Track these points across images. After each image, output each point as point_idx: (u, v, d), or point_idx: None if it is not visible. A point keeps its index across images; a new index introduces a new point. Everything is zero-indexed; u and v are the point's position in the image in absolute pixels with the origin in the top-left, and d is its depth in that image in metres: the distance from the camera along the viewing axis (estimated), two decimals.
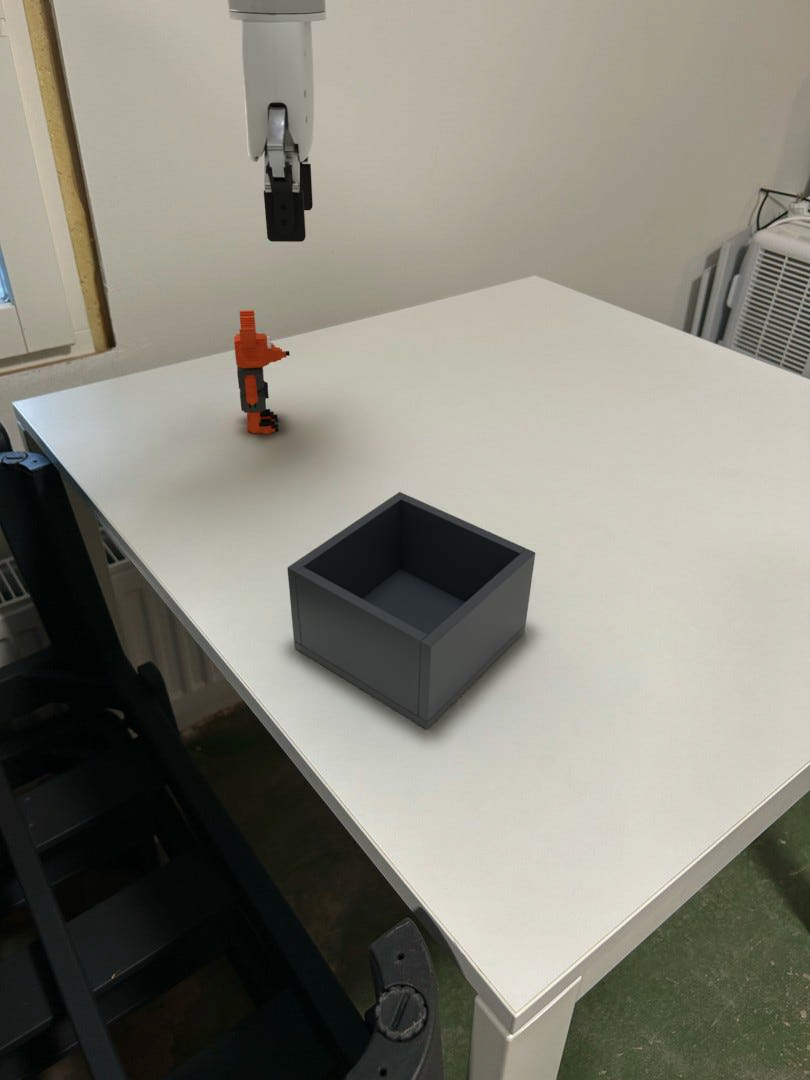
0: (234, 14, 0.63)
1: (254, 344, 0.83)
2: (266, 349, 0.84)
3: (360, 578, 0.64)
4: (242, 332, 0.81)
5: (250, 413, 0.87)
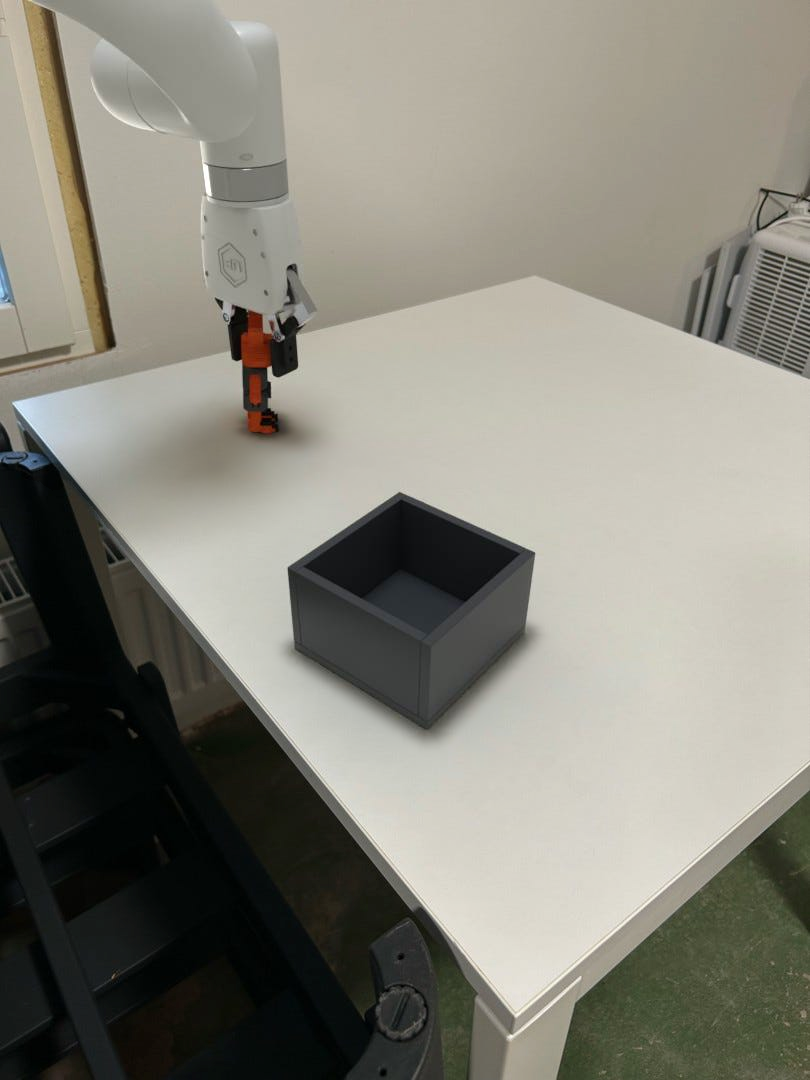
0: (238, 203, 0.73)
1: (261, 344, 0.83)
2: None
3: (360, 578, 0.64)
4: (251, 332, 0.81)
5: (252, 412, 0.87)
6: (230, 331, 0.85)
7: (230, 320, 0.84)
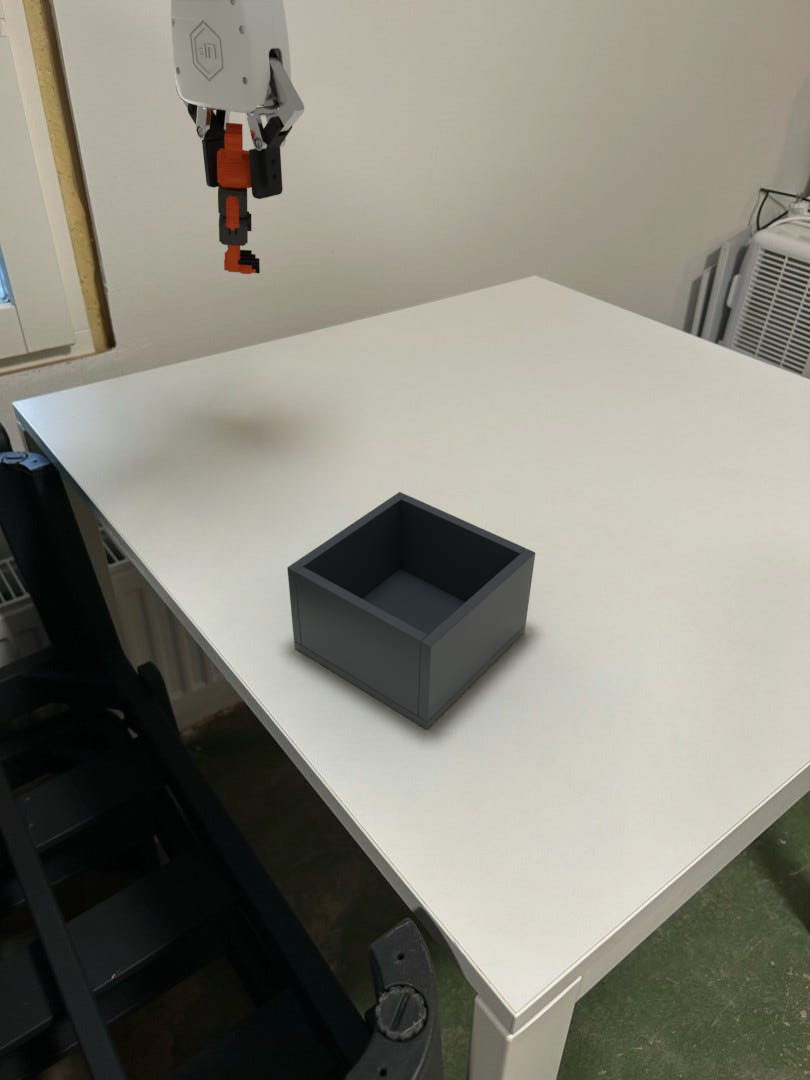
0: None
1: (240, 158, 0.72)
2: None
3: (360, 578, 0.64)
4: (227, 137, 0.70)
5: (229, 246, 0.76)
6: (205, 147, 0.74)
7: (205, 134, 0.74)
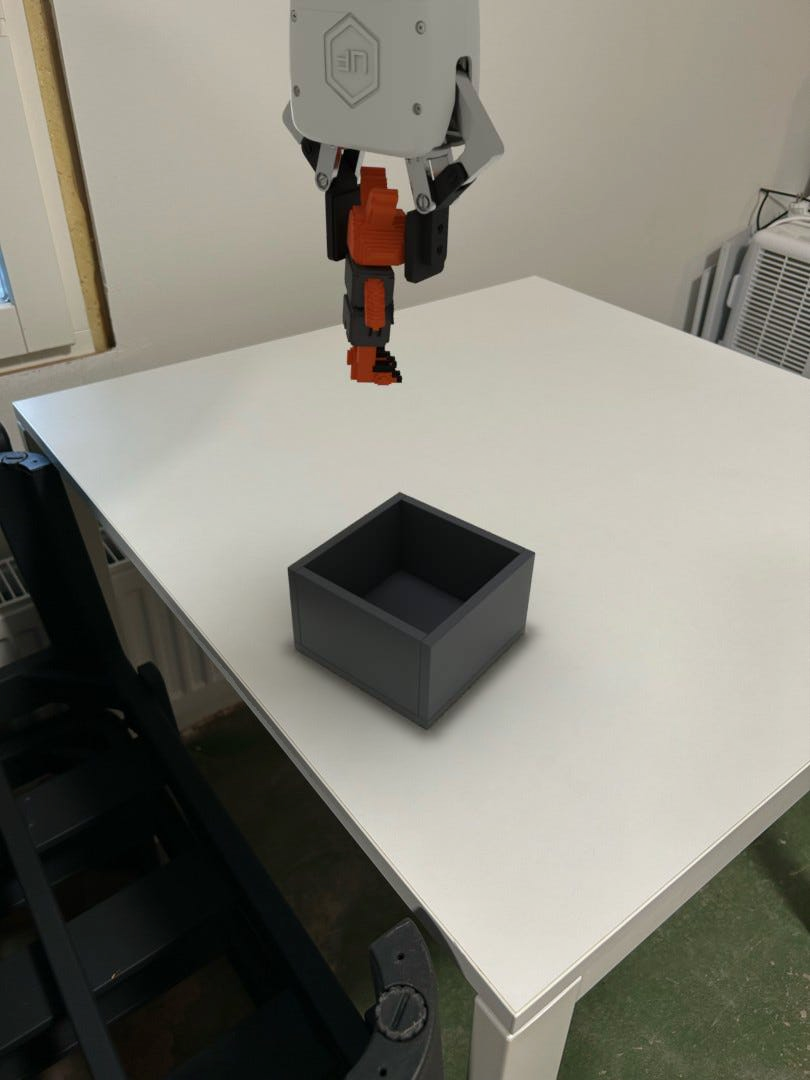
0: None
1: (389, 222, 0.47)
2: None
3: (360, 578, 0.64)
4: (377, 194, 0.45)
5: (362, 348, 0.51)
6: (329, 205, 0.49)
7: (330, 185, 0.49)
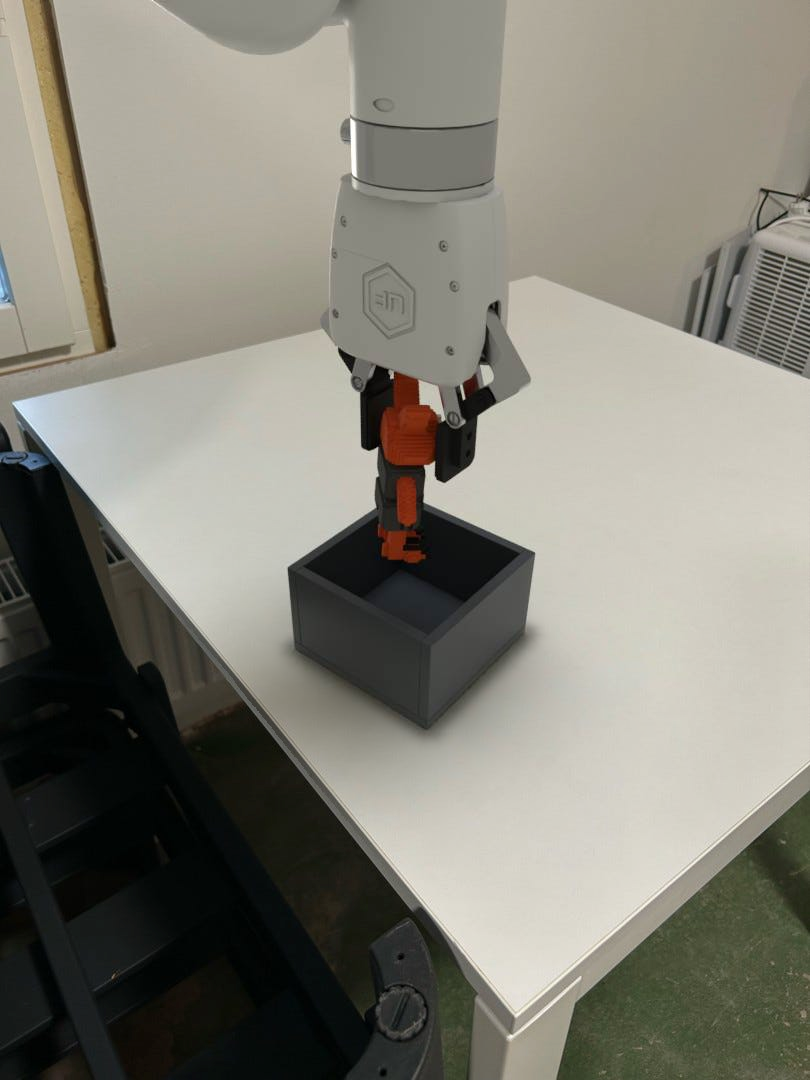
0: (418, 194, 0.40)
1: (421, 429, 0.50)
2: None
3: (360, 578, 0.64)
4: (410, 412, 0.48)
5: (393, 531, 0.54)
6: (364, 405, 0.52)
7: (365, 388, 0.52)
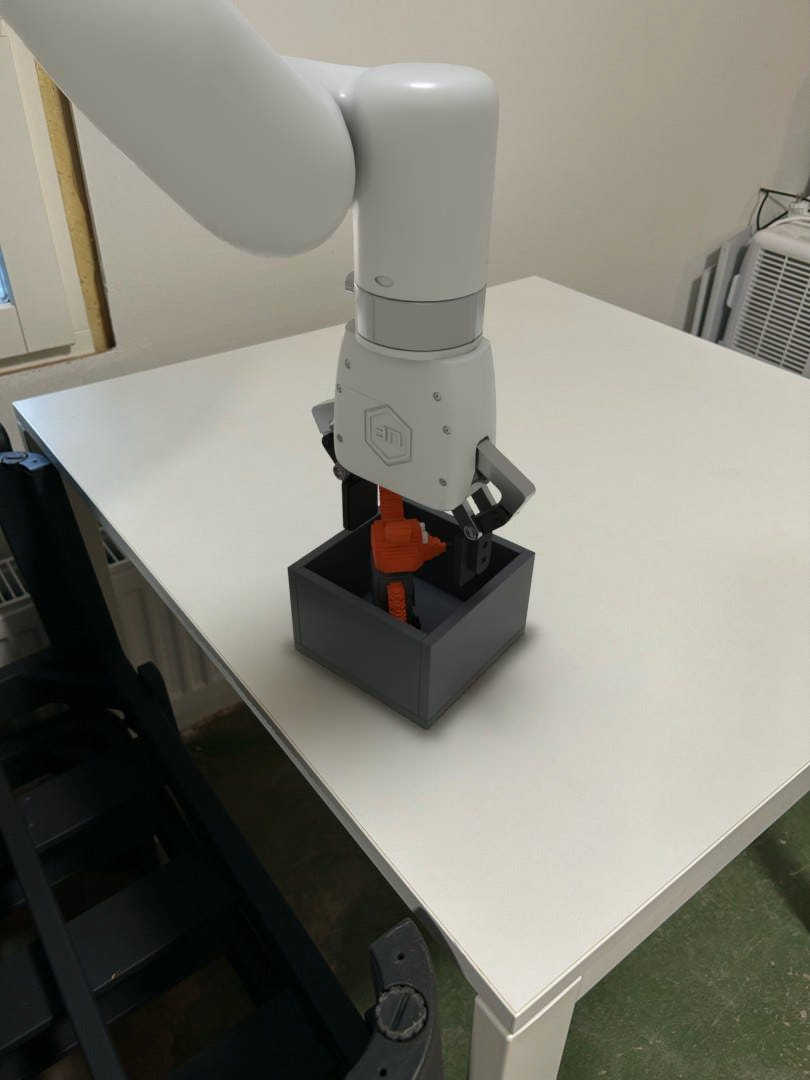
0: (414, 354, 0.45)
1: (405, 542, 0.55)
2: (421, 546, 0.56)
3: (360, 578, 0.64)
4: (393, 530, 0.53)
5: None
6: (345, 492, 0.57)
7: (344, 478, 0.57)
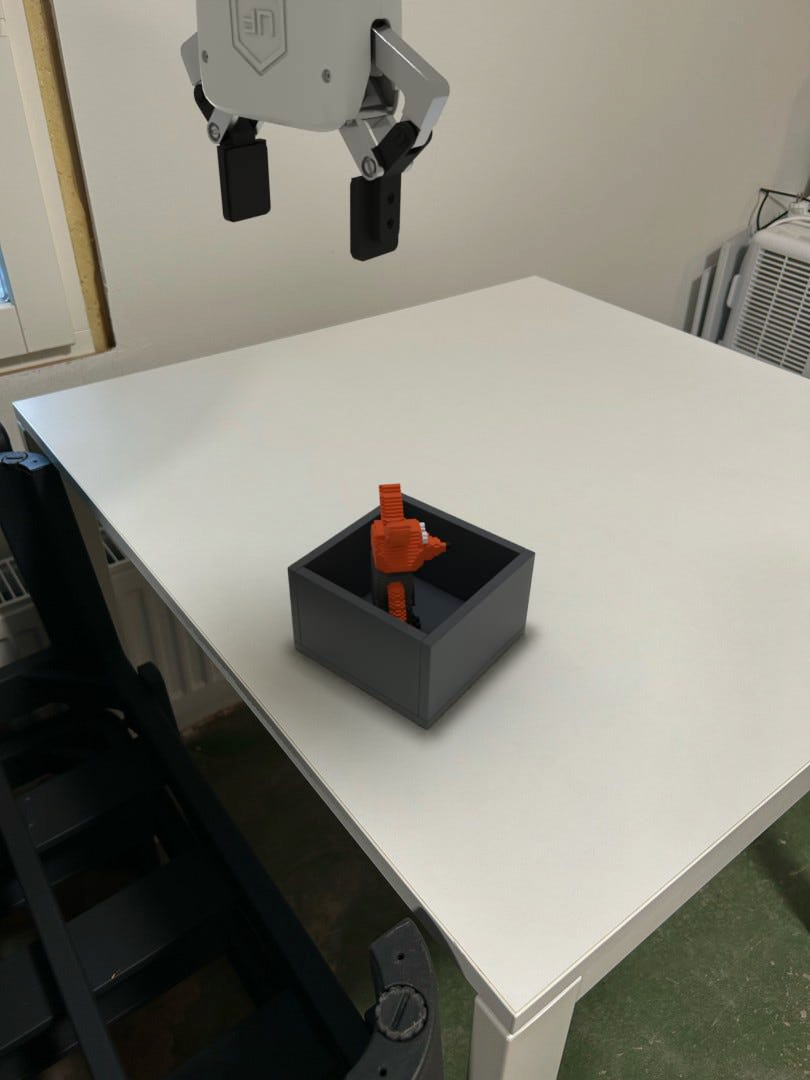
0: None
1: (405, 542, 0.55)
2: (421, 546, 0.56)
3: (360, 578, 0.64)
4: (393, 531, 0.53)
5: None
6: (222, 159, 0.45)
7: (221, 140, 0.45)
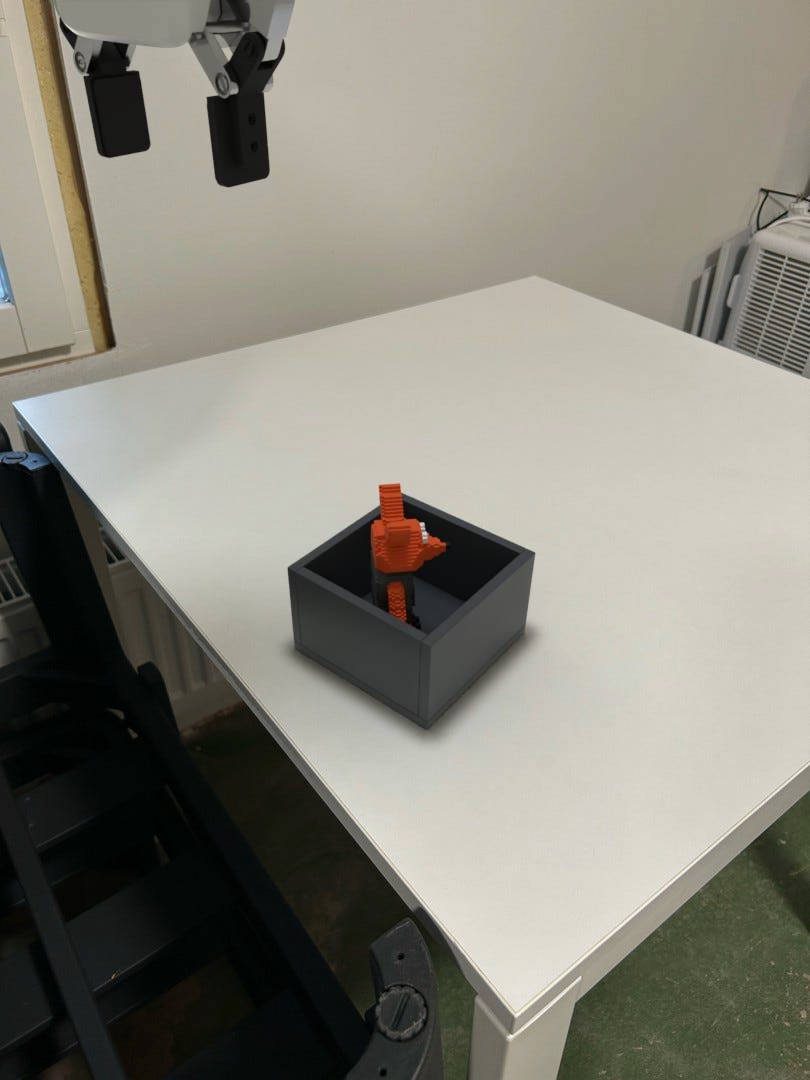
0: None
1: (405, 542, 0.55)
2: (421, 546, 0.56)
3: (360, 578, 0.64)
4: (393, 531, 0.53)
5: None
6: (89, 89, 0.44)
7: (88, 70, 0.44)
